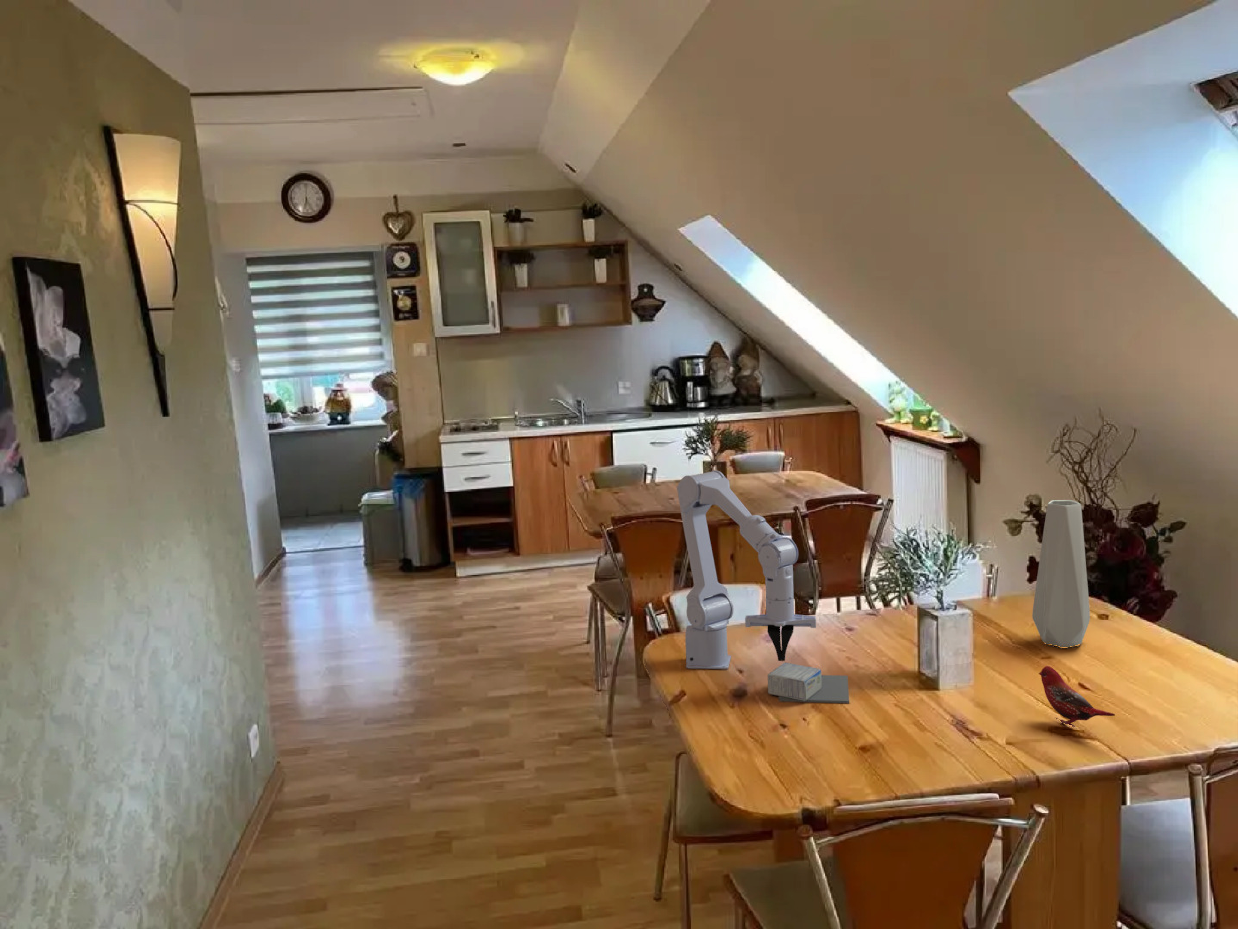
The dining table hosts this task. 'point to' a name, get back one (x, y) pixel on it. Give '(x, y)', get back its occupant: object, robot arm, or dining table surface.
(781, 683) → the medicine box
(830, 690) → the mat
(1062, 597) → the vase
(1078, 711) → the decorative bird figurine
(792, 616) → the robot arm
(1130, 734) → the dining table surface
